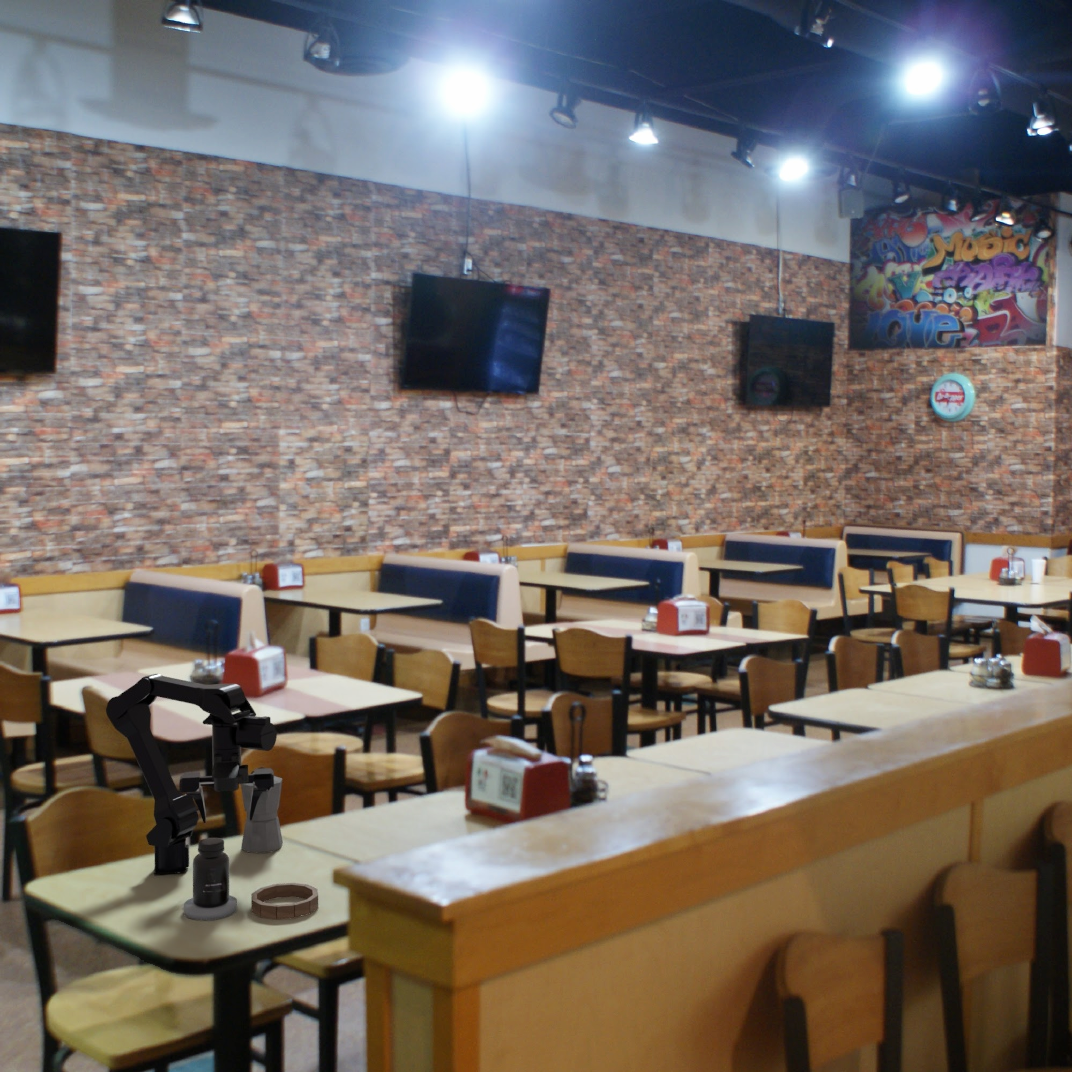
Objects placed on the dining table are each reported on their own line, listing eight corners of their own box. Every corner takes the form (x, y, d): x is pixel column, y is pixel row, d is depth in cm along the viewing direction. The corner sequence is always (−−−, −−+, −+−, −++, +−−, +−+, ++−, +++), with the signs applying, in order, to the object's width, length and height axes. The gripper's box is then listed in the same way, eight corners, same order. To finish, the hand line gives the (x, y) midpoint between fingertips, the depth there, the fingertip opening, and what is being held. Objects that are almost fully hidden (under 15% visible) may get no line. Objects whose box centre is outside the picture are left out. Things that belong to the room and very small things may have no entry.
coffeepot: (290, 852, 275) (289, 772, 274) (247, 858, 271) (246, 776, 270) (273, 833, 289) (273, 756, 287) (232, 838, 285) (231, 760, 283)
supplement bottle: (210, 911, 236) (209, 849, 235) (185, 904, 239) (184, 842, 238) (237, 900, 241) (236, 839, 241) (212, 893, 245) (211, 833, 244)
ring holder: (251, 921, 235) (251, 908, 234) (251, 898, 247) (251, 885, 247) (319, 916, 237) (319, 903, 237) (316, 893, 250) (316, 881, 249)
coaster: (182, 922, 234) (181, 914, 234) (184, 903, 244) (184, 895, 244) (236, 918, 236) (236, 910, 236) (237, 899, 246) (237, 892, 246)
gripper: (177, 758, 246) (178, 835, 248) (273, 753, 251) (274, 829, 252) (180, 745, 257) (181, 819, 258) (273, 740, 261) (273, 814, 262)
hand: (227, 821), depth 257 cm, fingers open, 9 cm apart
